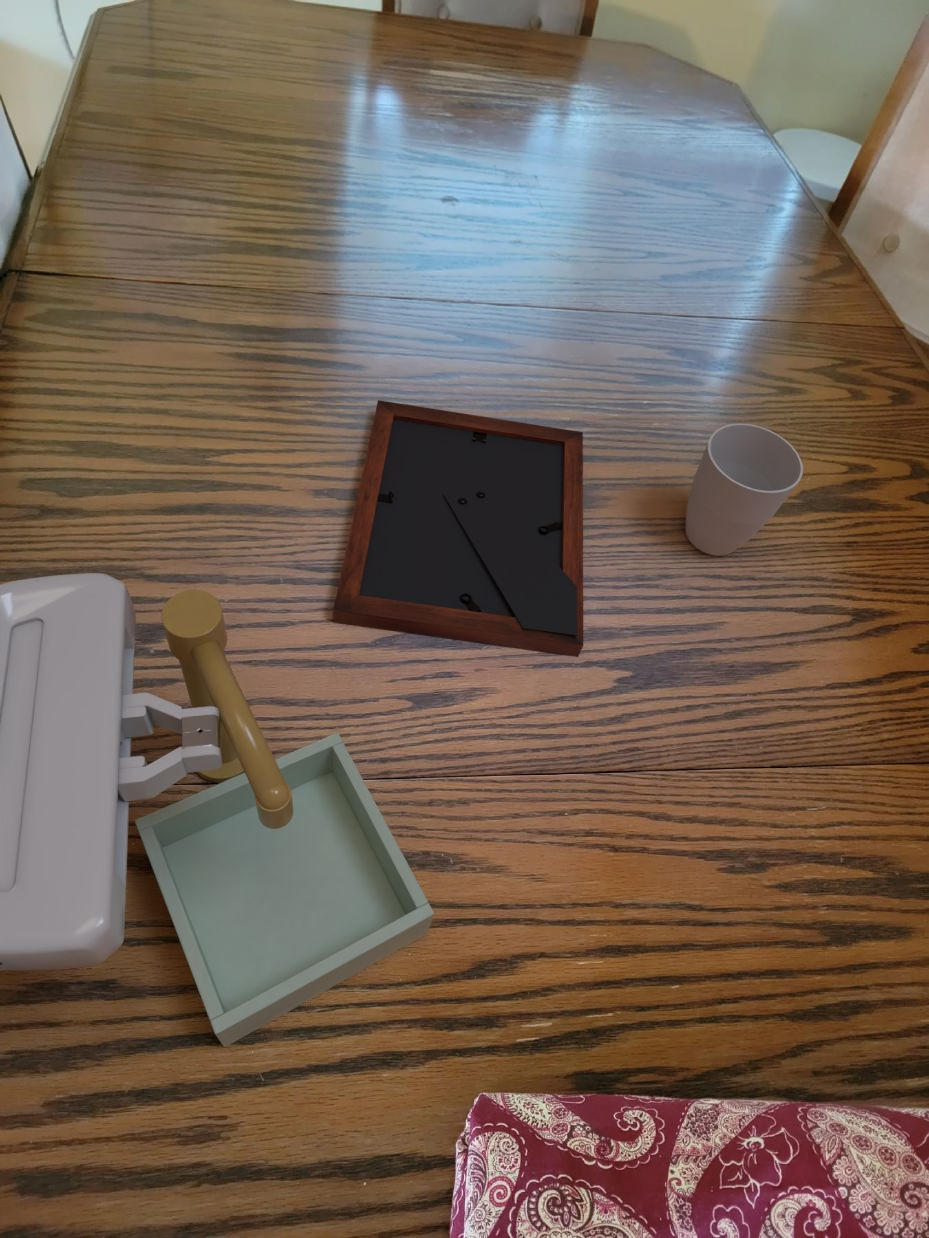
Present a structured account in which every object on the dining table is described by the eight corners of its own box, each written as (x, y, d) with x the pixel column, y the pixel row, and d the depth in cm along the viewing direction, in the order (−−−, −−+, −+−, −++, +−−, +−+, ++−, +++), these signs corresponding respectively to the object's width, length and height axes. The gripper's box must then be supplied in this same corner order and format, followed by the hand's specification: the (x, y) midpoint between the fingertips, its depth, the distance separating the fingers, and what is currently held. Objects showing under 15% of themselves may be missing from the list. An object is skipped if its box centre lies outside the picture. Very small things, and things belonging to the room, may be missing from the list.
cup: (766, 567, 76) (818, 491, 68) (684, 571, 75) (727, 494, 66) (736, 501, 81) (781, 422, 73) (658, 503, 79) (695, 423, 71)
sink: (427, 933, 54) (434, 913, 50) (224, 1047, 49) (215, 1034, 45) (337, 761, 60) (337, 731, 56) (147, 846, 55) (134, 819, 51)
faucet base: (238, 793, 58) (215, 692, 46) (176, 767, 58) (138, 661, 47) (271, 736, 60) (257, 627, 49) (211, 712, 61) (183, 599, 49)
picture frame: (578, 656, 68) (578, 445, 82) (584, 643, 66) (583, 430, 81) (333, 622, 67) (377, 413, 81) (333, 607, 65) (378, 397, 80)
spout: (164, 641, 49) (152, 601, 45) (217, 622, 50) (209, 582, 47) (253, 841, 43) (246, 811, 39) (311, 814, 44) (309, 782, 41)
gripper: (-156, 982, 32) (218, 925, 35) (-69, 564, 43) (209, 547, 46) (-88, 1013, 37) (233, 960, 40) (-26, 632, 48) (222, 613, 51)
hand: (220, 736), depth 43 cm, fingers closed
